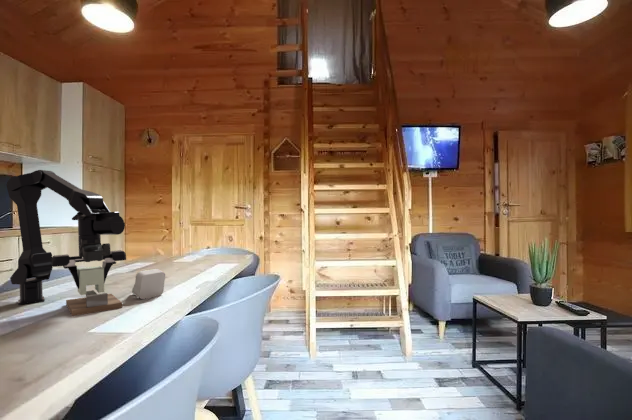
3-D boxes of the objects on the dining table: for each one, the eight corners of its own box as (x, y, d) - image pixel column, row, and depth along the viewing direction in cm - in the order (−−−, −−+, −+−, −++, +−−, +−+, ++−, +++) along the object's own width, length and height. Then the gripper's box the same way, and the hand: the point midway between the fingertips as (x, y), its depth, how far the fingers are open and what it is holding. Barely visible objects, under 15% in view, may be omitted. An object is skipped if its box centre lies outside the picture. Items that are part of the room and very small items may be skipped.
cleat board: (66, 305, 111) (65, 290, 111) (111, 298, 118) (110, 284, 118) (72, 316, 98) (71, 299, 98) (122, 307, 106) (121, 292, 106)
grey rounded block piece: (145, 289, 128) (148, 261, 126) (162, 300, 122) (165, 271, 121) (122, 294, 121) (125, 265, 120) (138, 305, 115) (141, 275, 114)
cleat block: (77, 291, 112) (77, 268, 112) (100, 288, 116) (99, 266, 116) (80, 295, 107) (80, 270, 107) (104, 291, 111) (103, 268, 111)
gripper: (53, 238, 99) (54, 296, 99) (129, 234, 111) (130, 286, 111) (50, 236, 108) (52, 289, 108) (121, 232, 120) (122, 281, 120)
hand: (90, 286), depth 112 cm, fingers closed on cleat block, 6 cm apart
